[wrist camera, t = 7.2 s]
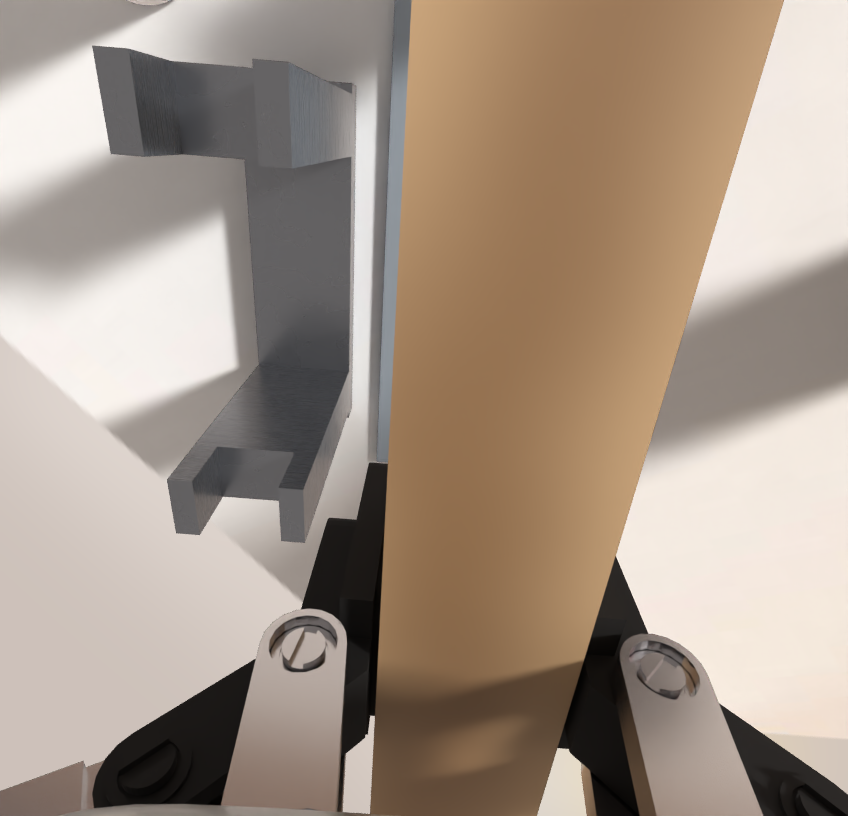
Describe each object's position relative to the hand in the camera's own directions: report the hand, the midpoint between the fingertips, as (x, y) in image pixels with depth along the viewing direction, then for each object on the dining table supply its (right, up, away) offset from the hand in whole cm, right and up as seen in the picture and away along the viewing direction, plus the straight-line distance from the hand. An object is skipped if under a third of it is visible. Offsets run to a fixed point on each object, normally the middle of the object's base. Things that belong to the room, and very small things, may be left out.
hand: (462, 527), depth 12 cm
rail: (0, -1, -1) cm, 1 cm away
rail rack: (-8, +12, +22) cm, 26 cm away
